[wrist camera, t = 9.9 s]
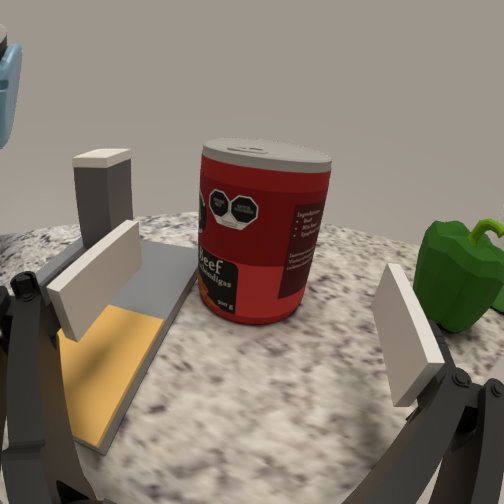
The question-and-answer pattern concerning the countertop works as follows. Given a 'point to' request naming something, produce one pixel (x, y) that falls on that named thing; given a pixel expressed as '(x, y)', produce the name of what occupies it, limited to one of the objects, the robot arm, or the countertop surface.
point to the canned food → (258, 226)
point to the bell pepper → (458, 273)
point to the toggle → (102, 192)
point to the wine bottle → (500, 303)
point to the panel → (120, 338)
